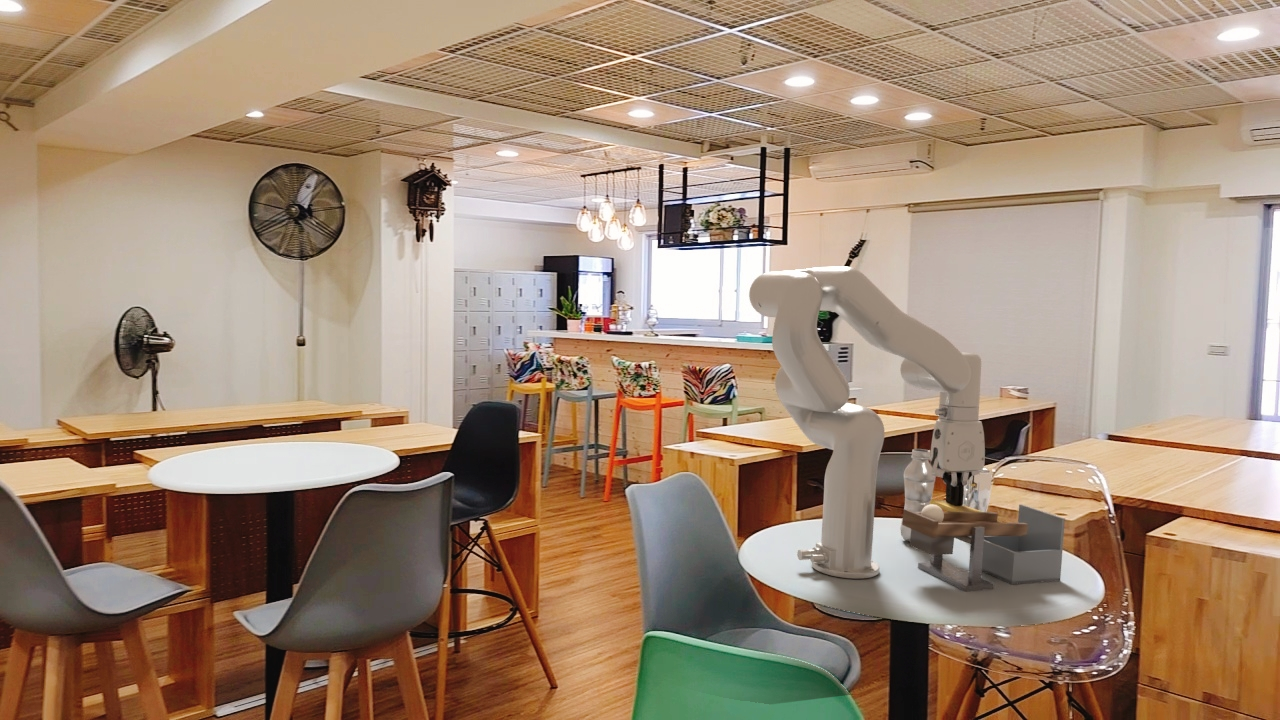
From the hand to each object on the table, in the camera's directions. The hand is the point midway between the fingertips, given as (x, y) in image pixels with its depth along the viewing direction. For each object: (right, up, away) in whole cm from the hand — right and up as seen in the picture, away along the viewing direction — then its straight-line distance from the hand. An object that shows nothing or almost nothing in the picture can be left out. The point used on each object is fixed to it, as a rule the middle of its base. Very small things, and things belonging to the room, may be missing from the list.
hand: (954, 503), depth 177 cm
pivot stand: (-4, -12, -12) cm, 17 cm away
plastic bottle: (-4, -10, +12) cm, 17 cm away
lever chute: (-4, -6, -7) cm, 10 cm away
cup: (+9, -12, -8) cm, 17 cm away
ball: (-9, 0, -15) cm, 17 cm away
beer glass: (+11, -11, +19) cm, 24 cm away
